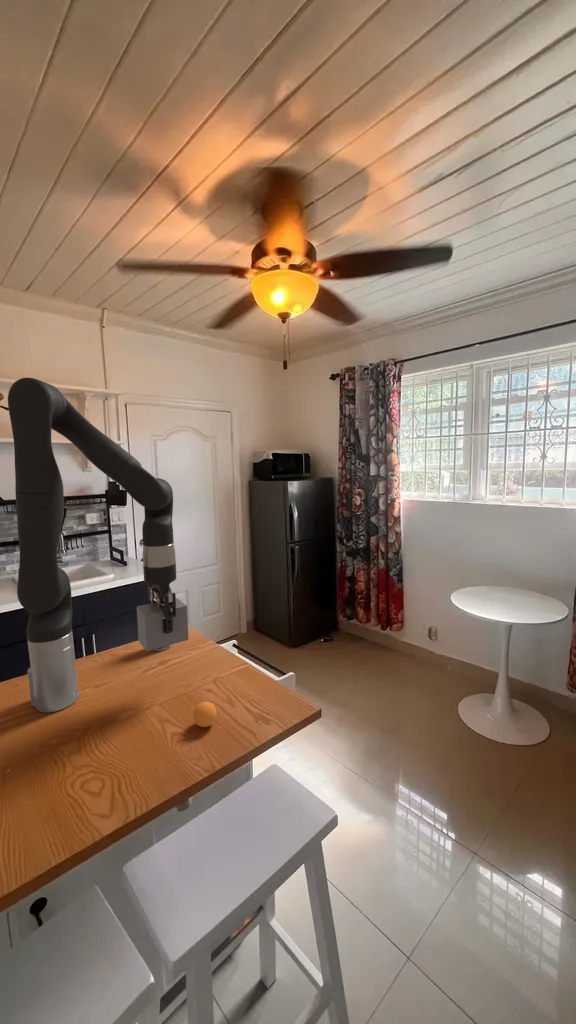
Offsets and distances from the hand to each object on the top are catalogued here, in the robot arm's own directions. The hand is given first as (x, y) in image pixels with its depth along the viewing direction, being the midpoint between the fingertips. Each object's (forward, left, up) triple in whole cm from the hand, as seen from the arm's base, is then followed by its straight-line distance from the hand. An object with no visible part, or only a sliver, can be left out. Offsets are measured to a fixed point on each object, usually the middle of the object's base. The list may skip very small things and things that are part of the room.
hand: (163, 627), depth 102 cm
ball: (+15, -11, -14) cm, 23 cm away
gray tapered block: (0, 0, -3) cm, 3 cm away
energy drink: (-12, +22, -17) cm, 30 cm away
